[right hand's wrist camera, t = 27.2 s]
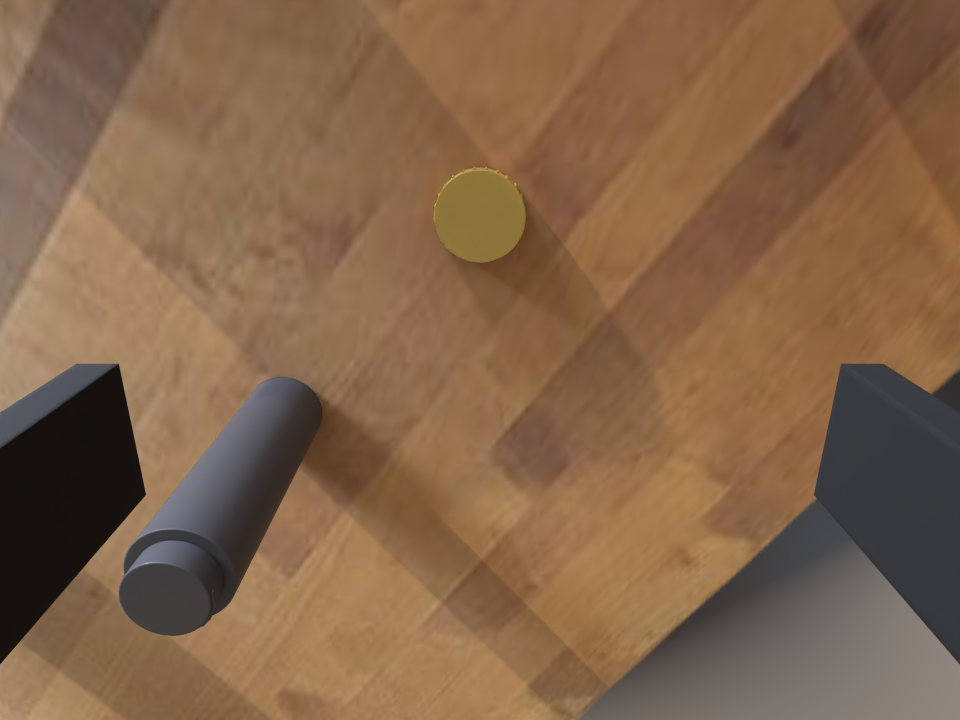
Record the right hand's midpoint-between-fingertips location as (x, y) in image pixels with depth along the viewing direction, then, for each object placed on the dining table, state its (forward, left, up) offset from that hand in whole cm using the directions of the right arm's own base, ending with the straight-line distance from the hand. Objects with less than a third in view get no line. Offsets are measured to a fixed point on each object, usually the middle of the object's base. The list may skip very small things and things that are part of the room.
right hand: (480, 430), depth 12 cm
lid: (0, 0, -27) cm, 27 cm away
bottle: (+3, -18, -29) cm, 34 cm away
